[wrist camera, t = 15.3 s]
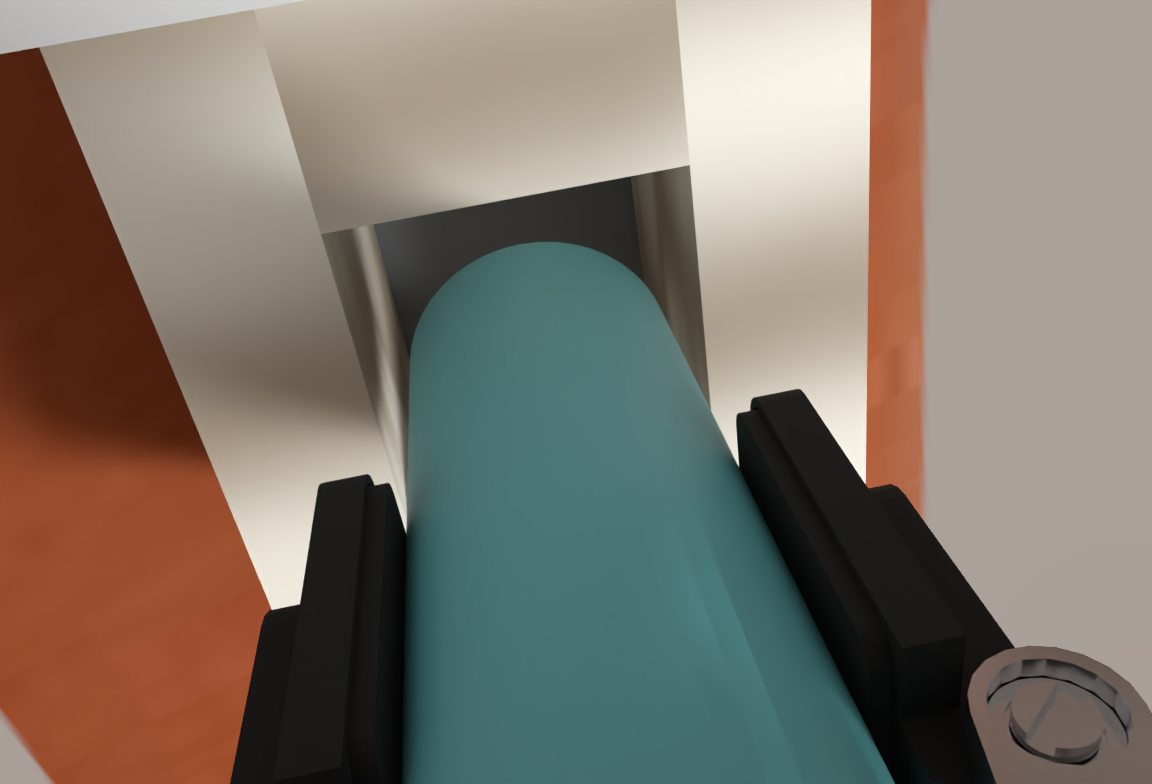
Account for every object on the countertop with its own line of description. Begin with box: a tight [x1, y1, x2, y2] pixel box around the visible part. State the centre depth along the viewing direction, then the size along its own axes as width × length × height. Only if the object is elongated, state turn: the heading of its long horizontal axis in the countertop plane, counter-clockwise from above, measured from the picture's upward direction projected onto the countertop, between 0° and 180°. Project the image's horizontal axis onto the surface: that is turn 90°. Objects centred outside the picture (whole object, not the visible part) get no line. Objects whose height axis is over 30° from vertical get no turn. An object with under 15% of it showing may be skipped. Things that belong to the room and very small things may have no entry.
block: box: [39, 0, 871, 610], centre depth 18 cm, size 12×11×6 cm
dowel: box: [401, 242, 895, 784], centre depth 10 cm, size 4×4×12 cm
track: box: [0, 0, 643, 358], centre depth 20 cm, size 29×13×9 cm, turn 9°
